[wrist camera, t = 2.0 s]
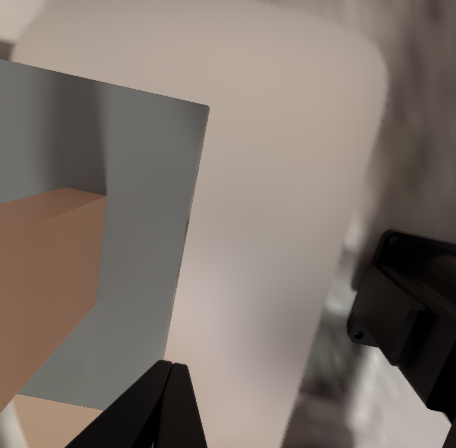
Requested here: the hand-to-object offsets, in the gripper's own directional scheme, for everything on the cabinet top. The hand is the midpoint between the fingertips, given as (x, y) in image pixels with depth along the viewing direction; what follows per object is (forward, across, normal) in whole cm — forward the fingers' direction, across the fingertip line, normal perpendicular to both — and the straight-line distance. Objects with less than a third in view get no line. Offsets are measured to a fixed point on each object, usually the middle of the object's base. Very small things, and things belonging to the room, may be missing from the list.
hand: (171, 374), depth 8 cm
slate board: (+8, +9, +1) cm, 12 cm away
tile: (+7, +6, 0) cm, 9 cm away
